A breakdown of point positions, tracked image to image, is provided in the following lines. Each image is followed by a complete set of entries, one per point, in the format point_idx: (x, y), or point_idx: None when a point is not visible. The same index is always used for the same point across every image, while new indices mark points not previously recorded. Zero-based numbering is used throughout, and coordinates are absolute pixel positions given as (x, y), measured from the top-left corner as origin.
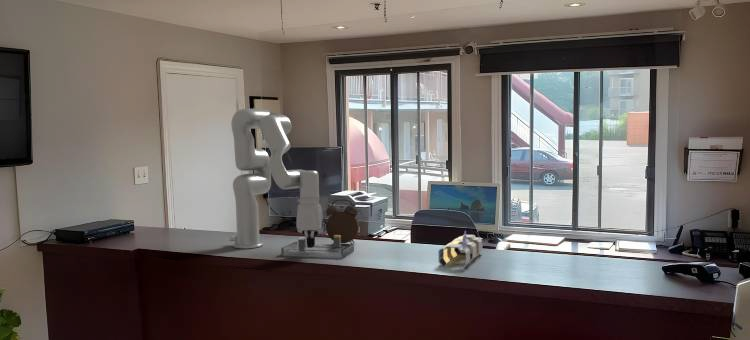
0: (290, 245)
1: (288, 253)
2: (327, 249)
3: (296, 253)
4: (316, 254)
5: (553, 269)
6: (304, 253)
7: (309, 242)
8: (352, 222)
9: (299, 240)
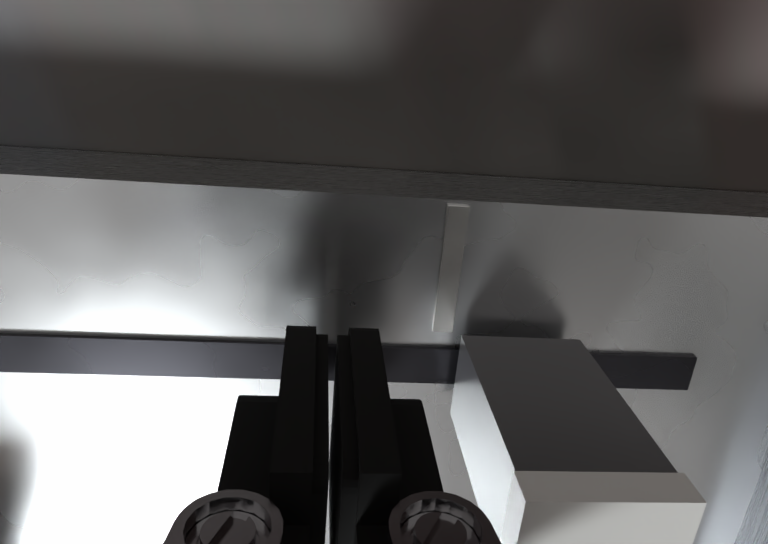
0: None
1: (734, 203)
2: (31, 469)
3: (576, 195)
4: (138, 172)
5: None
6: (407, 186)
7: (338, 415)
8: None
9: (634, 459)
